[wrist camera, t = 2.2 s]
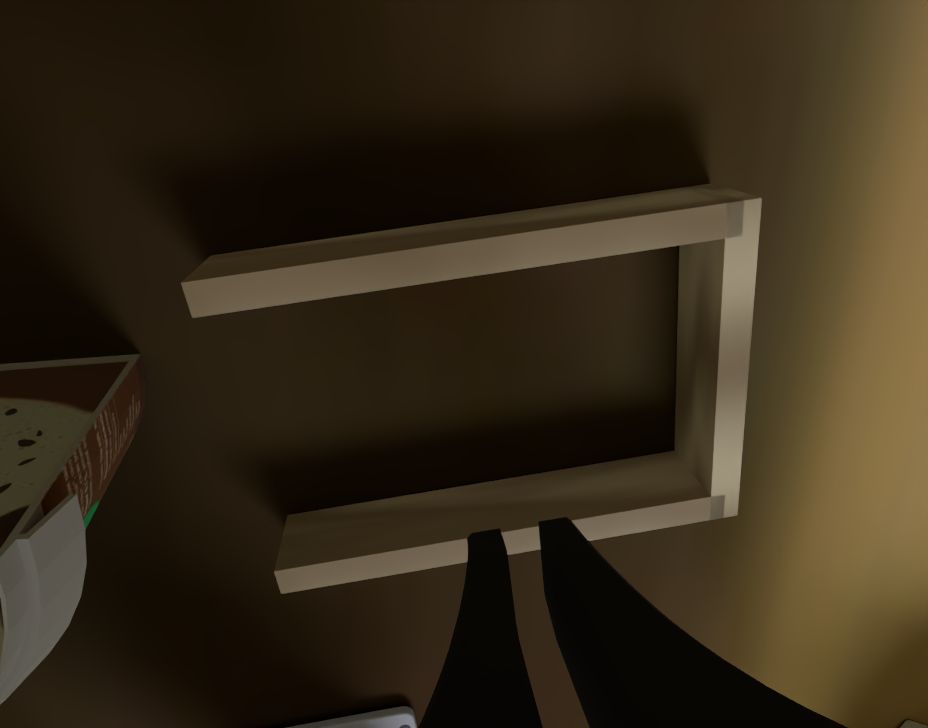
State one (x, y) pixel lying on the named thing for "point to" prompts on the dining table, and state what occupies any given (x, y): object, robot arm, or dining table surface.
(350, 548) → the open u-shaped wooden frame
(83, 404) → the food container
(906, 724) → the supplement box
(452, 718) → the robot arm
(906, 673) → the dining table surface
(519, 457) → the dining table surface
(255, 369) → the dining table surface
